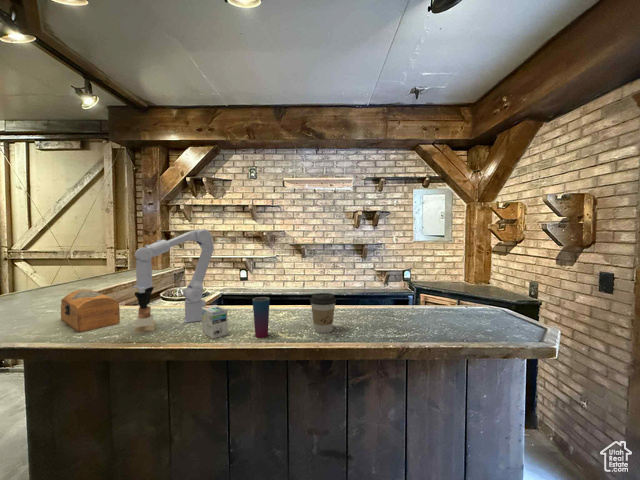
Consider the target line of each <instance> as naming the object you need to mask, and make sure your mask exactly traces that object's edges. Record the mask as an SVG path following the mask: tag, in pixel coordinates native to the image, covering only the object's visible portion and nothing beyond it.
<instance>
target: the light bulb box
mask: <svg viewBox="0 0 640 480" xmlns="http://www.w3.org/2000/svg"><path fill="white" fill-rule="evenodd" d="M228 317H229V316H228V309H227V308H225V307H223V306H220V305H217V304H213V305H208V306H206V307H202V322H201V323H202V324H201V328H202V334H205V335H206V336H208V337H209V338H211V339H212V340H213V339H216V338H220V337H223V336H228V335H229V322H228V319H229V318H228Z"/></svg>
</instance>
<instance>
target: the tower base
mask: <svg viewBox="0 0 640 480" xmlns="http://www.w3.org/2000/svg"><path fill="white" fill-rule="evenodd" d="M156 324H157V323H156V319H153V324H152V325H149V326H142V327H135V326H134V330H133V331H134V332H133V333H134V334H142V333H150V332H154V331H155V329H156Z"/></svg>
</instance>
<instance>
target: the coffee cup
mask: <svg viewBox="0 0 640 480" xmlns="http://www.w3.org/2000/svg"><path fill="white" fill-rule="evenodd" d="M309 303H310V305H311V312H312V320H313V327H314V332H316V333H317V334H330V333H331V332H332V330H333V325H334V324H333V322H334V316H335V315H334V314H335V307H336V303H337V299H336V297H335V296H334V295H333V294H331V293H328V292H327V293H326V292H325V293H324V292H321V293H320V292H319V293H315V294H312V295H311V298H310V299H309Z"/></svg>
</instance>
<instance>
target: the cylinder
mask: <svg viewBox="0 0 640 480" xmlns="http://www.w3.org/2000/svg"><path fill="white" fill-rule="evenodd" d="M151 311H152V310H151V306H148V305H147V308H144V309H141V308H140V306H139V307H138V315H137V316H138V318H147V317H150V315H151V314H152V313H151Z"/></svg>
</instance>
